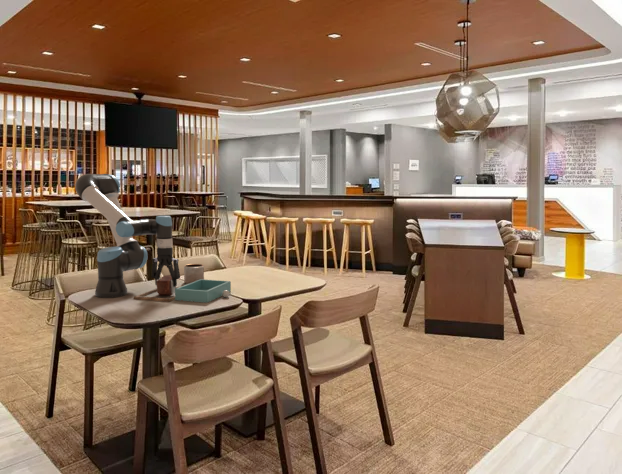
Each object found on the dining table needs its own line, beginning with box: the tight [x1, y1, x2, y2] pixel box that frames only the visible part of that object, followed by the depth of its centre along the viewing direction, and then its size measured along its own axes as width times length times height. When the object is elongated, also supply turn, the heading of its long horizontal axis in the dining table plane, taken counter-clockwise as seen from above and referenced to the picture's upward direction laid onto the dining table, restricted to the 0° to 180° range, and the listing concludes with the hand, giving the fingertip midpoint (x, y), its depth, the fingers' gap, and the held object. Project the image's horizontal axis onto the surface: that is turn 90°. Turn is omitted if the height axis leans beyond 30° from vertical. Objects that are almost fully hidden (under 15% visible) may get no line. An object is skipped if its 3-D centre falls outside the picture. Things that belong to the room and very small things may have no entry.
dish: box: [174, 278, 232, 303], centre depth 262 cm, size 17×25×5 cm
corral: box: [133, 286, 180, 303], centre depth 264 cm, size 19×25×1 cm
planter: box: [183, 263, 205, 285], centre depth 294 cm, size 11×11×10 cm
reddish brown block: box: [156, 274, 177, 297], centre depth 265 cm, size 18×6×9 cm, turn 4°
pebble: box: [222, 290, 231, 298], centre depth 259 cm, size 4×4×4 cm
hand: (166, 292), depth 264 cm, fingers closed on reddish brown block, 7 cm apart
